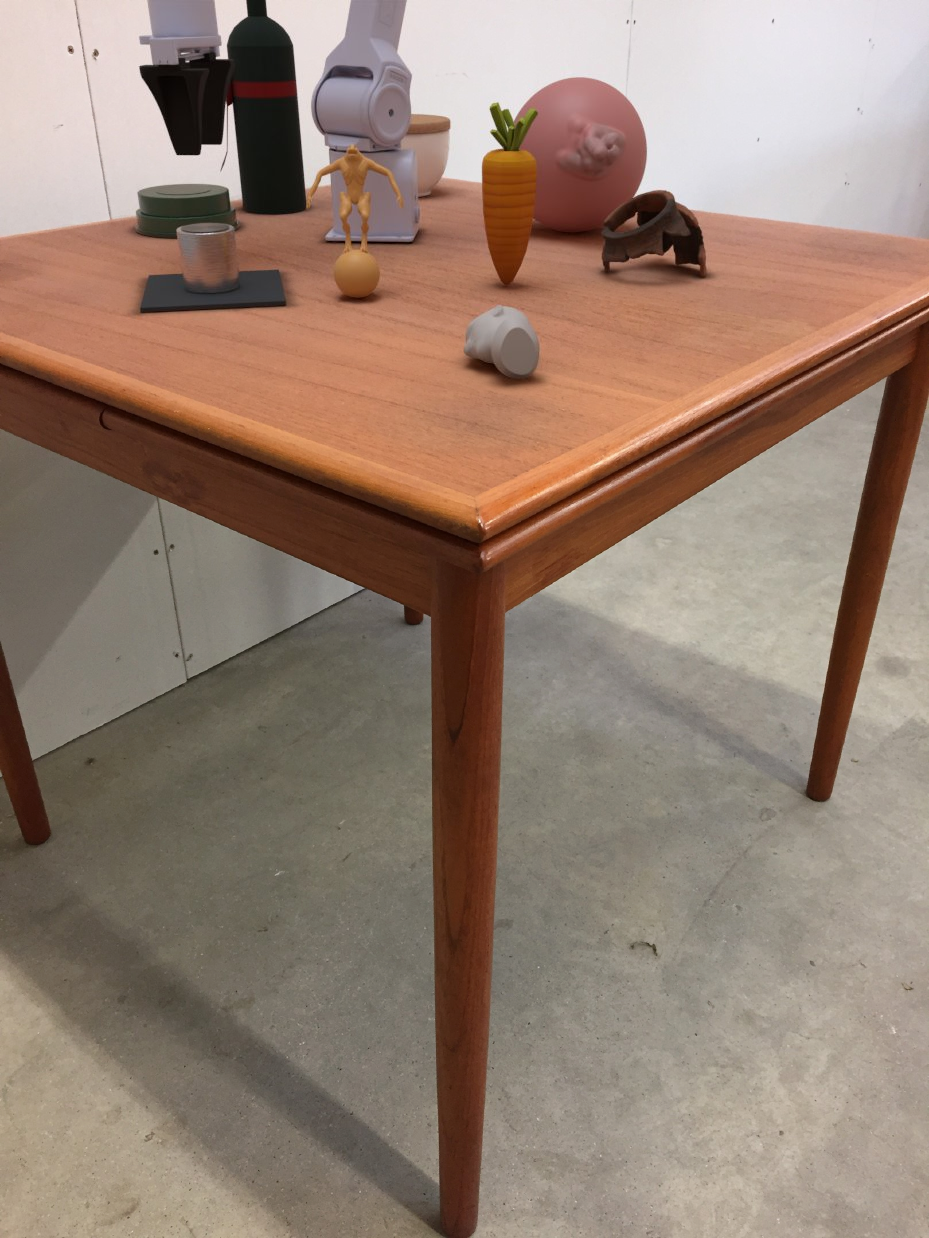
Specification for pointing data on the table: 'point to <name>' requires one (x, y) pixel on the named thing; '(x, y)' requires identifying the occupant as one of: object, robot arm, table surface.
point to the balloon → (583, 152)
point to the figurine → (357, 266)
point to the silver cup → (208, 258)
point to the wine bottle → (266, 114)
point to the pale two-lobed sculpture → (504, 341)
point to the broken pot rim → (654, 231)
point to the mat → (253, 292)
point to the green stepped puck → (182, 208)
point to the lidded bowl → (428, 148)
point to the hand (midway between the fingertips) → (200, 149)
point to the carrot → (508, 193)
